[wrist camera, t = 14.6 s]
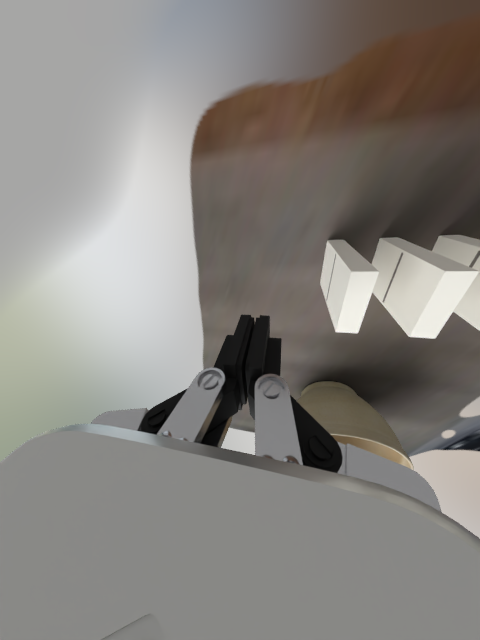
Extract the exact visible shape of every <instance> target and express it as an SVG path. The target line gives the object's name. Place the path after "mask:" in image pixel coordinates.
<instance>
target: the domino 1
mask: <svg viewBox="0 0 480 640" xmlns="http://www.w3.org/2000/svg"><path fill="white" fill-rule="evenodd" d="M378 274H379V271H378V270H377V269H376V268H375V267H374V266H373V265H371V264H370V263H369V262H368V261H367V260H366V259H365V258H364V257H362V256H361V255H360V254H359V253H358V252H357V251H356V250H355V249H354V248H352V247H351V246H350V245H349V244H348V243H347V242H346V241H345V240H327V245H326V251H325V257H324V263H323V269H322V275H321V281H320V284H321V288H322V291H323V294H324V297H325V300H326V303H327V306H328V309H329V313H330V316H331V319H332V322H333V325H334V328H335V331H336V332H344V333H358V332H359V329H360V326H361V323H362V320H363V317H364V314H365V311H366V309H367V306H368V303H369V300H370V297H371V294H372V291H373V288H374V286H375V283H376V280H377V277H378Z"/></svg>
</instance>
